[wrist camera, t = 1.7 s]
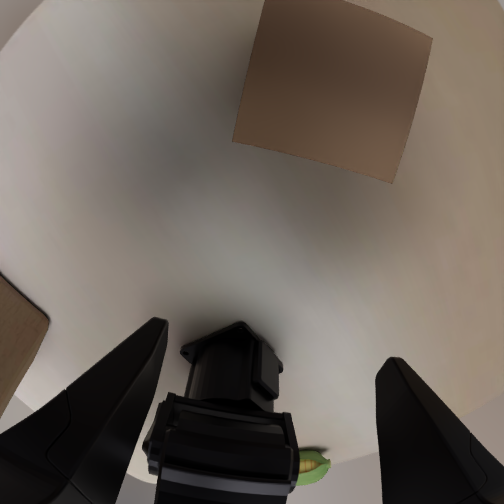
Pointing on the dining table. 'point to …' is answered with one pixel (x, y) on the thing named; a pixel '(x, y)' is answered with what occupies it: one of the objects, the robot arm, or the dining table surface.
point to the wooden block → (17, 339)
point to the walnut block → (333, 85)
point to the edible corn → (312, 467)
